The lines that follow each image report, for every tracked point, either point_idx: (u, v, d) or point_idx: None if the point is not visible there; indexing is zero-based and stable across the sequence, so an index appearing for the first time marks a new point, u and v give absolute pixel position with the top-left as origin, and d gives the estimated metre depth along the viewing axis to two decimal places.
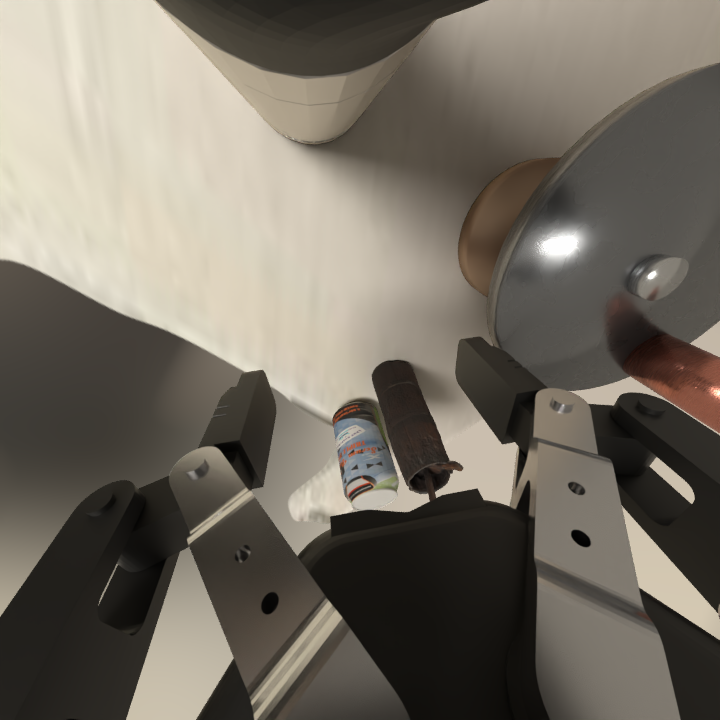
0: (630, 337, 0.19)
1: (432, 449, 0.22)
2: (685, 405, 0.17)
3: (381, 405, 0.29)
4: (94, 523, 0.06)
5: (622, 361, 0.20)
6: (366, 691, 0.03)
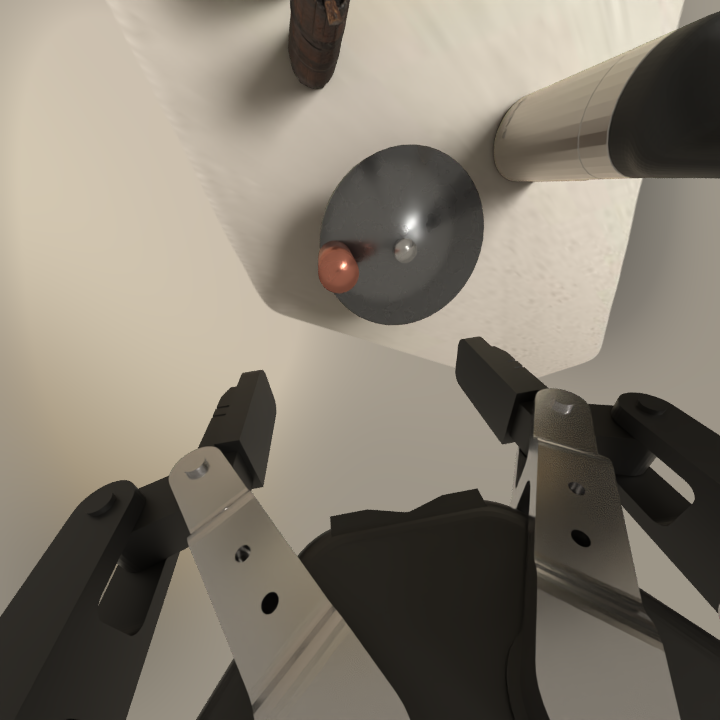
0: (361, 243, 0.29)
1: (346, 7, 0.19)
2: (337, 248, 0.25)
3: None
4: (94, 523, 0.06)
5: (340, 239, 0.28)
6: (366, 691, 0.03)
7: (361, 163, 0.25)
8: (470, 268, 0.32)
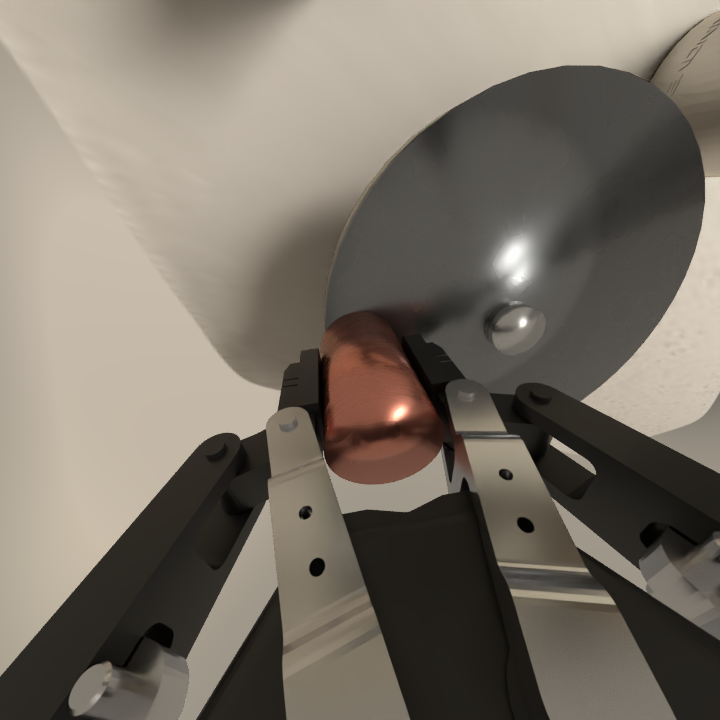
0: (420, 315, 0.13)
1: None
2: (376, 362, 0.09)
3: None
4: (207, 465, 0.07)
5: (372, 309, 0.12)
6: (382, 702, 0.03)
7: (443, 121, 0.09)
8: (629, 351, 0.16)
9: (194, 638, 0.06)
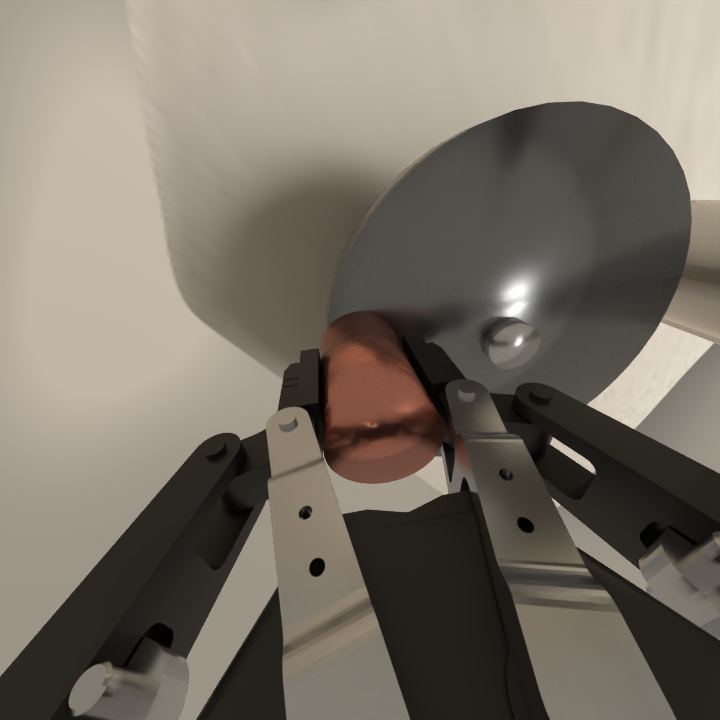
0: (422, 321, 0.13)
1: None
2: (382, 360, 0.09)
3: None
4: (207, 465, 0.07)
5: (377, 310, 0.12)
6: (382, 702, 0.03)
7: (465, 136, 0.09)
8: (611, 376, 0.16)
9: (194, 638, 0.06)
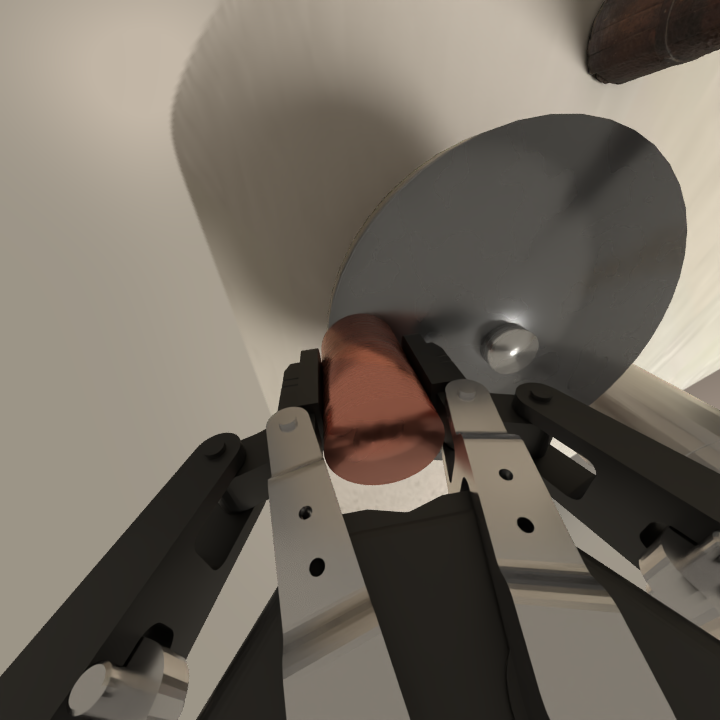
0: (422, 325, 0.13)
1: None
2: (384, 362, 0.09)
3: None
4: (206, 465, 0.07)
5: (378, 313, 0.12)
6: (382, 702, 0.03)
7: (469, 144, 0.09)
8: (607, 383, 0.17)
9: (194, 638, 0.06)
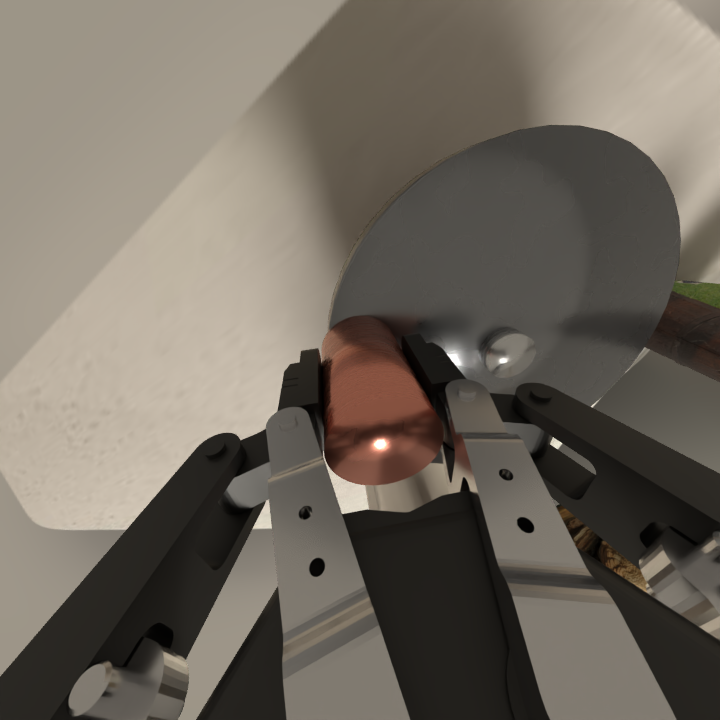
0: (422, 328, 0.13)
1: None
2: (384, 363, 0.09)
3: None
4: (207, 465, 0.07)
5: (378, 315, 0.12)
6: (382, 702, 0.03)
7: (471, 151, 0.10)
8: (602, 389, 0.17)
9: (194, 638, 0.06)
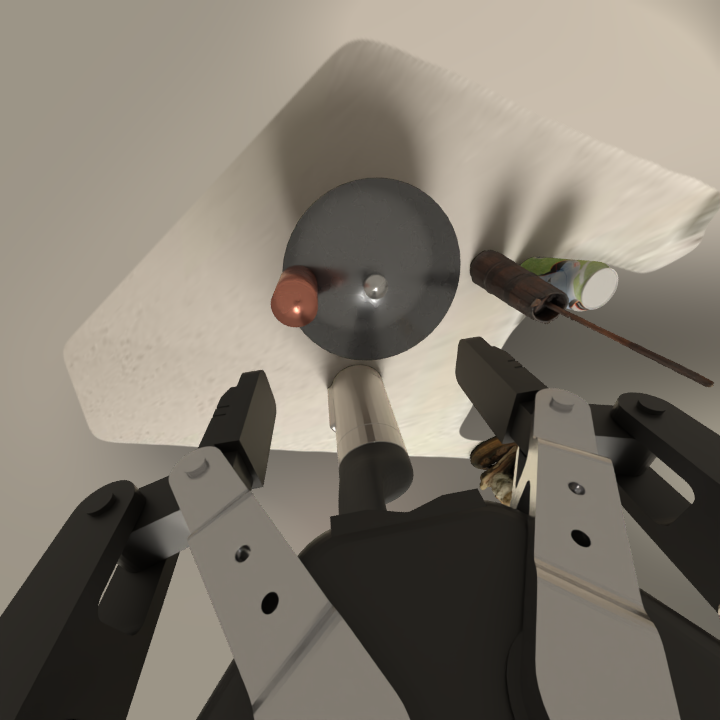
0: (329, 272, 0.26)
1: (524, 309, 0.31)
2: (296, 277, 0.22)
3: None
4: (93, 524, 0.06)
5: (306, 265, 0.26)
6: (366, 692, 0.03)
7: (335, 189, 0.23)
8: (442, 312, 0.30)
9: None
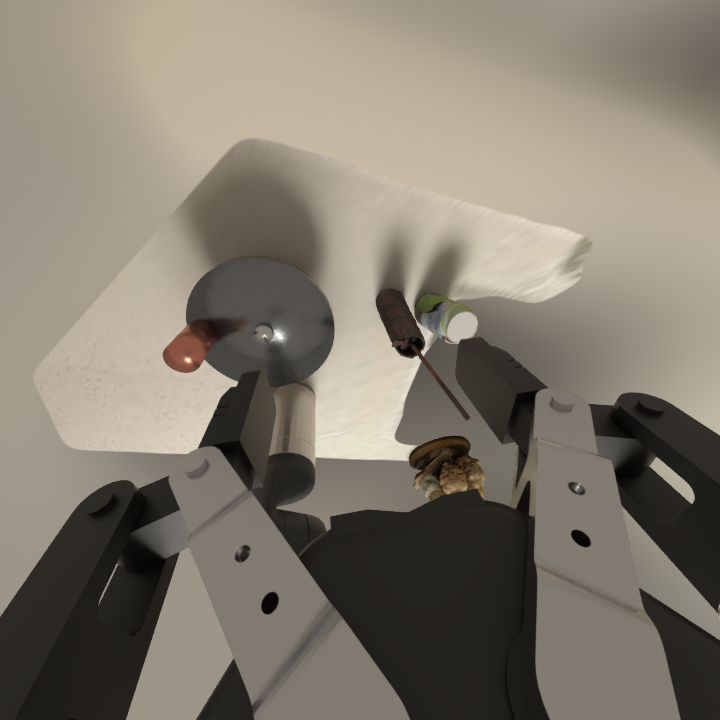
0: (225, 324, 0.34)
1: None
2: (185, 335, 0.29)
3: None
4: (94, 523, 0.06)
5: (205, 319, 0.33)
6: (366, 691, 0.03)
7: (217, 267, 0.30)
8: (327, 349, 0.38)
9: None
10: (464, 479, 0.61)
